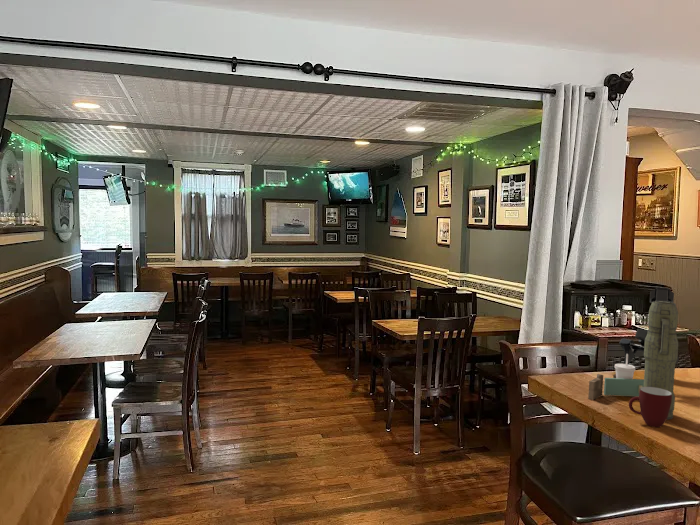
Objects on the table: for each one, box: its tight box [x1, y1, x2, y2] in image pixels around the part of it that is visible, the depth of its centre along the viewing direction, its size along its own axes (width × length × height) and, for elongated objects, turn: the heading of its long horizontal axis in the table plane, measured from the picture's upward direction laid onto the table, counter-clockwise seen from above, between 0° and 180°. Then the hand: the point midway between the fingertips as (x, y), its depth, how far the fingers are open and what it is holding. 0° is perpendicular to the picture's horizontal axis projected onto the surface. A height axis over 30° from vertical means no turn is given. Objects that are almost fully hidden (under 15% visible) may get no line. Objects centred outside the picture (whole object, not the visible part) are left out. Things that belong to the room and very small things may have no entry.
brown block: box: [588, 373, 616, 401], centre depth 176 cm, size 24×2×7 cm, turn 133°
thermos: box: [643, 300, 679, 420], centre depth 154 cm, size 9×12×35 cm
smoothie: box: [614, 354, 636, 379], centre depth 175 cm, size 6×6×14 cm
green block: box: [603, 377, 644, 397], centre depth 171 cm, size 13×2×6 cm, turn 85°
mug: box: [628, 387, 672, 428], centre depth 147 cm, size 11×8×10 cm
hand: (637, 369), depth 179 cm, fingers open, 9 cm apart
